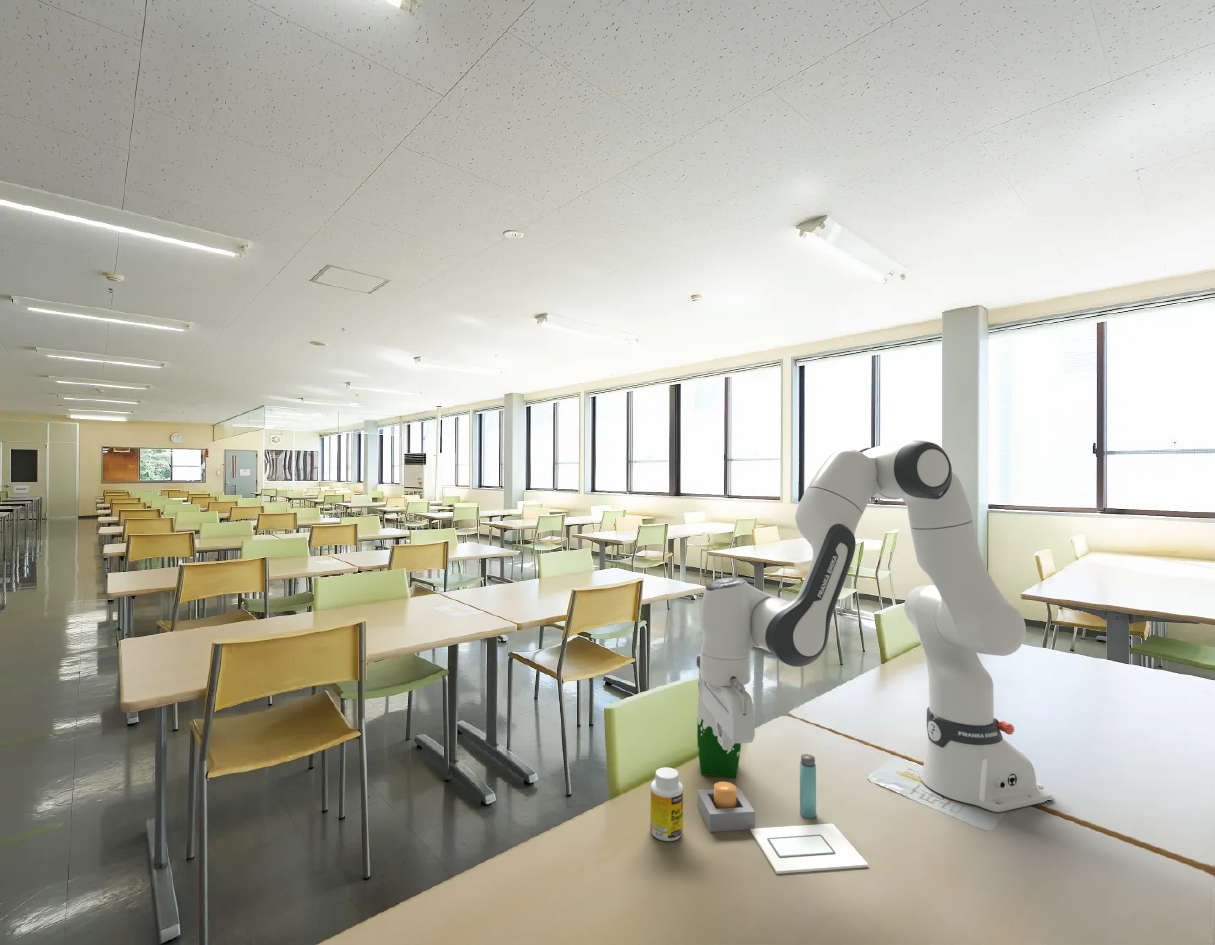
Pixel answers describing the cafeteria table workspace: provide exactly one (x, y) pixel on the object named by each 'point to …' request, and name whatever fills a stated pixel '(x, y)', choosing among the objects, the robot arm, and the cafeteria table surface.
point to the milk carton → (714, 747)
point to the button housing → (725, 813)
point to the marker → (808, 786)
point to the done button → (724, 795)
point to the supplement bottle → (666, 805)
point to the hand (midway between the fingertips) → (724, 746)
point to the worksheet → (807, 848)
